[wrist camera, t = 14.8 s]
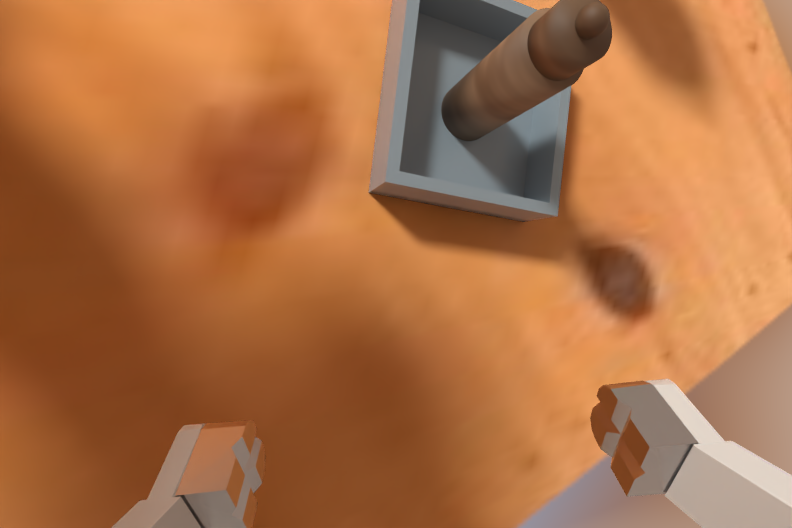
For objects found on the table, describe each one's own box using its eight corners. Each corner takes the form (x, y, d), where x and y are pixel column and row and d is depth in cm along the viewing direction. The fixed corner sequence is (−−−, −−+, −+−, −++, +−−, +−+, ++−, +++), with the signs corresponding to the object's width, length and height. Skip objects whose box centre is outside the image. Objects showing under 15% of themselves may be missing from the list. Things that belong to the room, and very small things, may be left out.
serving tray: (392, -1, 27) (412, -40, 24) (541, 53, 31) (577, 25, 28) (368, 192, 27) (385, 181, 23) (523, 221, 31) (557, 216, 27)
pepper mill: (444, 78, 28) (572, -51, 16) (493, 93, 29) (643, -17, 18) (438, 134, 28) (562, 43, 16) (487, 146, 29) (635, 70, 17)
